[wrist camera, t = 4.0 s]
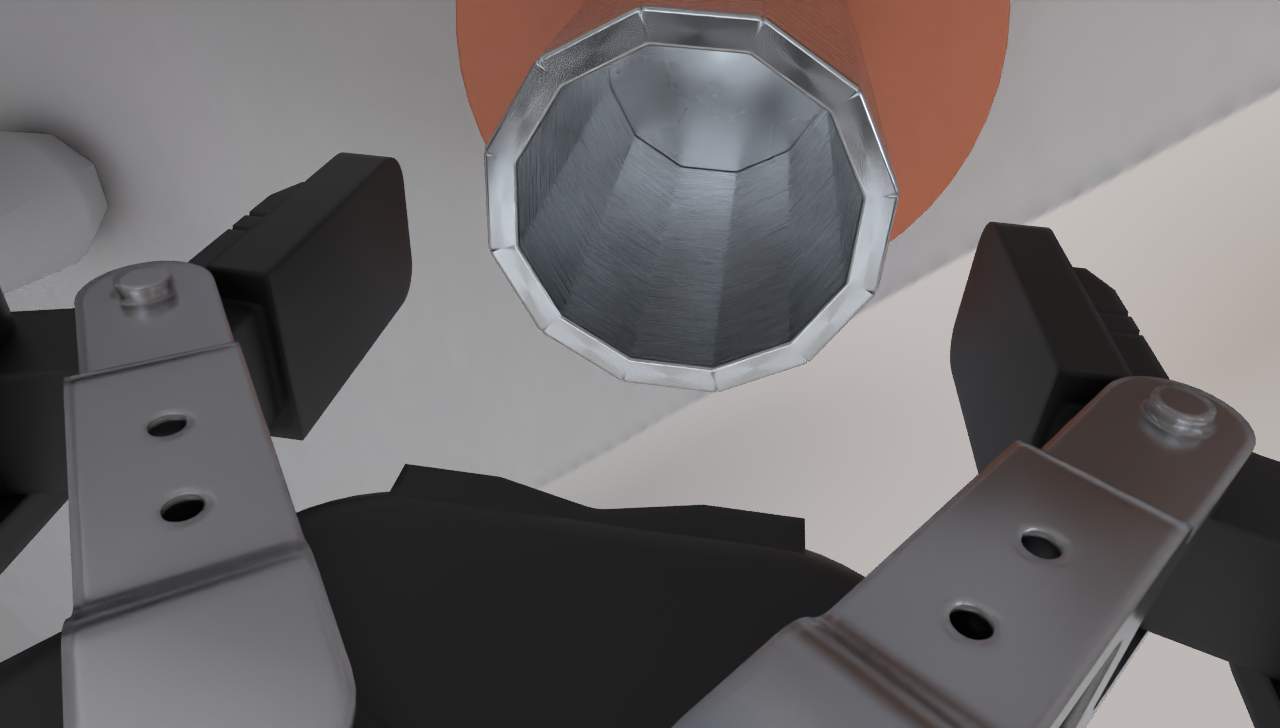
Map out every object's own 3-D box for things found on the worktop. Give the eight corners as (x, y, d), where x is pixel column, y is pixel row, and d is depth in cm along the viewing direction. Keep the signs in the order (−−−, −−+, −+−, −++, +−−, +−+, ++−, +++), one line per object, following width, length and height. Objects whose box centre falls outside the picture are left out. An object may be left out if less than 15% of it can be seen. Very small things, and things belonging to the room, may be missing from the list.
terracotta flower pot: (521, 168, 34) (435, 299, 25) (508, -326, 25) (374, -371, 17) (919, 209, 32) (964, 361, 24) (1045, -297, 24) (1180, -330, 16)
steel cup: (590, 169, 22) (493, 366, 15) (595, -96, 19) (474, -9, 12) (829, 193, 22) (851, 410, 15) (878, -75, 19) (938, 31, 11)
